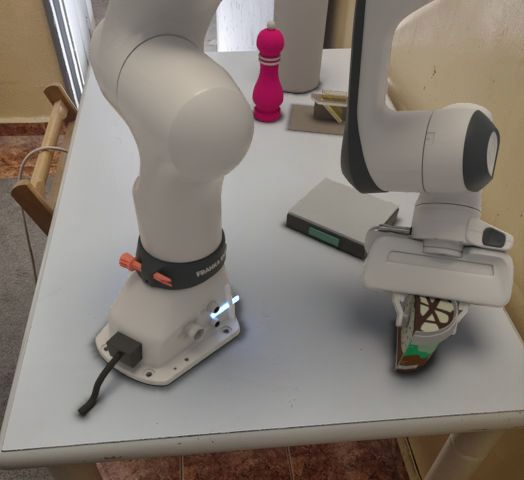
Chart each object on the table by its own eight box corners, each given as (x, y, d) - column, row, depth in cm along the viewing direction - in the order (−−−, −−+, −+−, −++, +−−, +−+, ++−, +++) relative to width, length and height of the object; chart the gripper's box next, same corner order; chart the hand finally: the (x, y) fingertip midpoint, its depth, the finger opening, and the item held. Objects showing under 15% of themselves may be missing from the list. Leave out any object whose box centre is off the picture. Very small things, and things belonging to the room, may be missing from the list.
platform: (367, 137, 117) (373, 108, 112) (289, 129, 118) (291, 100, 113) (367, 112, 125) (373, 84, 120) (293, 105, 126) (296, 77, 121)
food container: (437, 387, 73) (463, 343, 66) (394, 379, 74) (415, 334, 66) (436, 324, 81) (459, 278, 73) (397, 317, 82) (416, 270, 74)
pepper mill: (259, 125, 119) (262, 28, 104) (247, 111, 123) (248, 16, 108) (287, 120, 121) (294, 24, 106) (274, 106, 125) (279, 12, 110)
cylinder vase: (267, 72, 137) (272, -42, 118) (314, 72, 138) (326, -42, 119) (273, 94, 129) (279, -25, 110) (322, 93, 130) (337, -25, 111)
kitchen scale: (362, 260, 90) (365, 245, 88) (285, 226, 96) (286, 212, 93) (396, 220, 98) (400, 205, 96) (323, 190, 103) (325, 176, 101)
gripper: (370, 217, 69) (353, 319, 71) (526, 239, 68) (506, 343, 69) (365, 225, 76) (350, 318, 77) (508, 245, 74) (490, 340, 75)
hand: (425, 330), depth 73 cm, fingers closed on food container, 5 cm apart
